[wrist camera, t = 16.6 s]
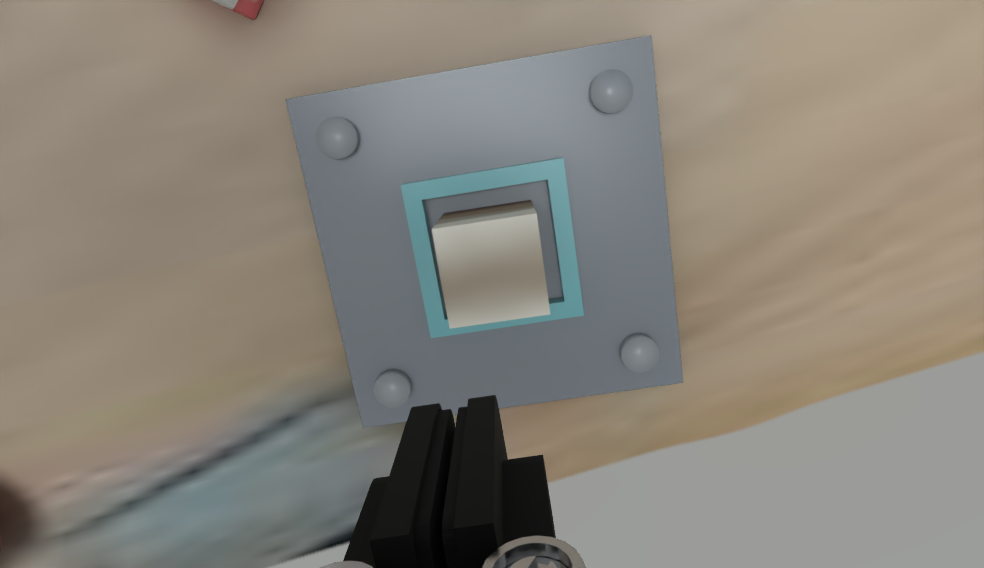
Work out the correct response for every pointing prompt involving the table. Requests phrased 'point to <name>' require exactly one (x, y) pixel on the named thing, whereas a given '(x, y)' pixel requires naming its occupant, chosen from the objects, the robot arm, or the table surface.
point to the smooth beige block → (491, 264)
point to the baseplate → (486, 182)
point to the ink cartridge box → (242, 6)
